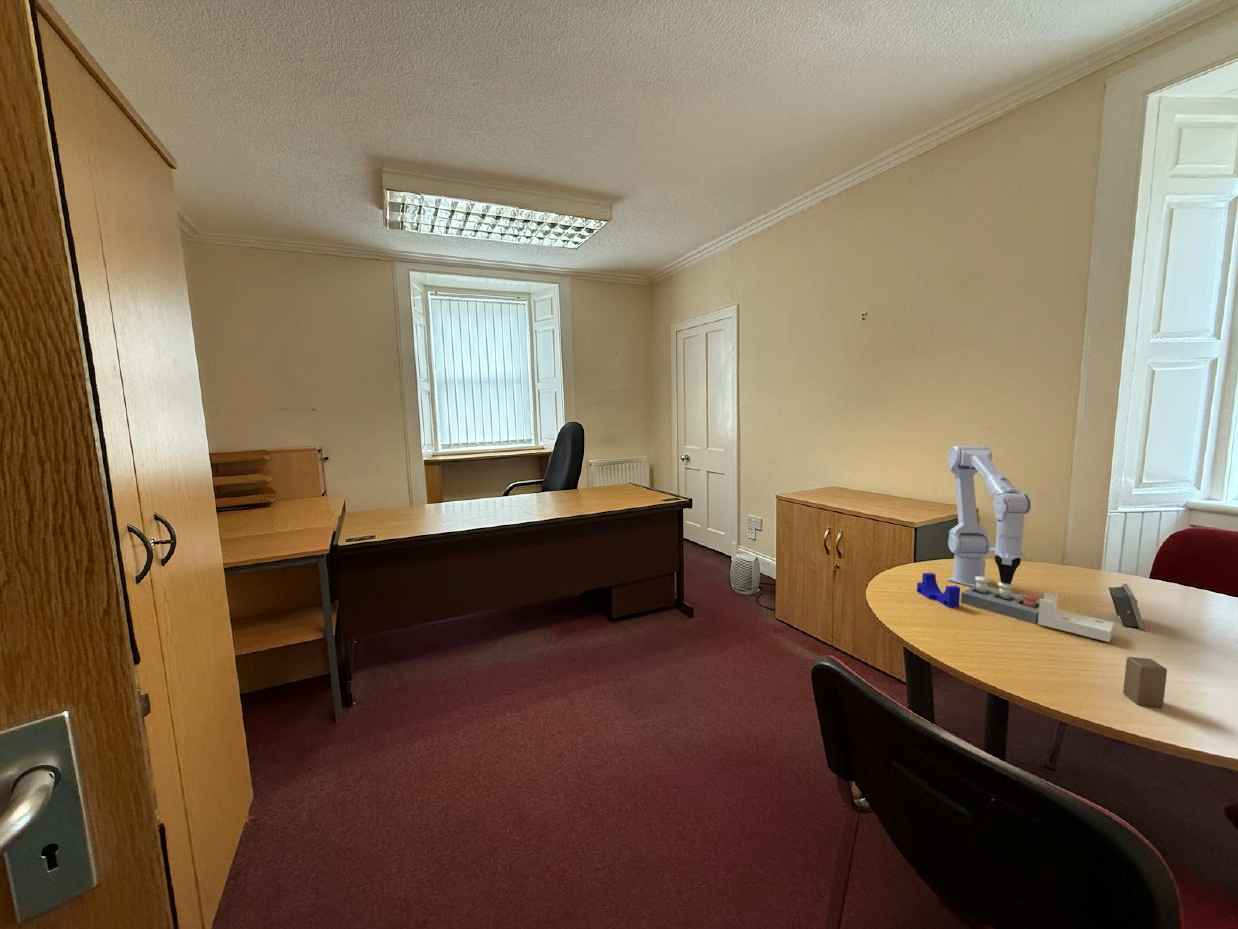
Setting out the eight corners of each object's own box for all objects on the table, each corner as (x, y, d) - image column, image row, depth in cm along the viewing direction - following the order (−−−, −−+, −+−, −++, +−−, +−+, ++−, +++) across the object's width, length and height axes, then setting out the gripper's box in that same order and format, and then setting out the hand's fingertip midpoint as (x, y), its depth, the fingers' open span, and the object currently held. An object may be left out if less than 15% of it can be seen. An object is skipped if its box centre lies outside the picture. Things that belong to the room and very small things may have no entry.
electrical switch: (1145, 631, 119) (1143, 595, 118) (1115, 628, 122) (1114, 592, 122) (1136, 618, 126) (1135, 583, 125) (1109, 614, 129) (1107, 581, 129)
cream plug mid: (999, 593, 136) (1000, 580, 136) (1014, 597, 133) (1015, 584, 133) (995, 596, 134) (995, 583, 134) (1009, 600, 132) (1010, 587, 131)
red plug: (1023, 604, 132) (1024, 591, 131) (1039, 608, 129) (1040, 595, 129) (1018, 607, 130) (1019, 594, 130) (1034, 612, 127) (1035, 598, 127)
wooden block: (1146, 696, 94) (1151, 658, 93) (1163, 708, 90) (1168, 669, 89) (1121, 693, 95) (1125, 655, 94) (1137, 705, 91) (1142, 666, 90)
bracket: (1037, 627, 123) (1039, 599, 122) (1043, 619, 128) (1045, 592, 127) (1109, 646, 113) (1112, 615, 112) (1112, 636, 118) (1115, 607, 117)
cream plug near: (977, 587, 141) (978, 575, 140) (991, 591, 138) (991, 578, 138) (972, 590, 139) (973, 577, 139) (986, 594, 136) (987, 581, 136)
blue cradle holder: (916, 591, 147) (917, 573, 147) (931, 591, 147) (932, 572, 147) (943, 608, 135) (944, 588, 135) (958, 607, 135) (960, 587, 135)
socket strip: (977, 593, 144) (977, 584, 144) (1049, 613, 130) (1050, 602, 130) (960, 602, 138) (961, 592, 138) (1035, 624, 124) (1036, 613, 124)
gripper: (992, 528, 140) (989, 572, 141) (989, 539, 129) (986, 587, 131) (1024, 531, 135) (1020, 577, 137) (1023, 543, 124) (1019, 593, 126)
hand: (1005, 582), depth 133 cm, fingers closed
